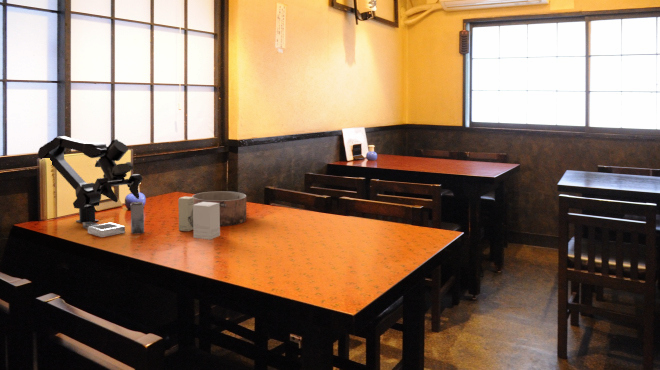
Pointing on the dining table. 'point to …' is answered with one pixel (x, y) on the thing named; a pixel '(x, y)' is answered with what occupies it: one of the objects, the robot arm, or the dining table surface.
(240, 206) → the cooking pot
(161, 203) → the dining table surface
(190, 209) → the box
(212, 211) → the supplement box
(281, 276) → the dining table surface
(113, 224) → the square frame with handle
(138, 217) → the dark grey metal cylinder
